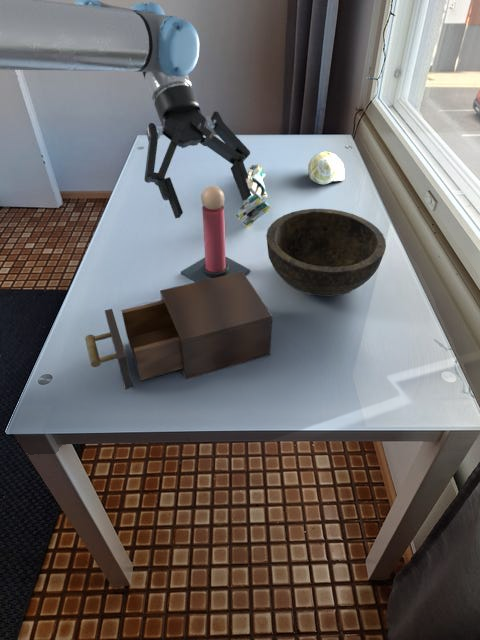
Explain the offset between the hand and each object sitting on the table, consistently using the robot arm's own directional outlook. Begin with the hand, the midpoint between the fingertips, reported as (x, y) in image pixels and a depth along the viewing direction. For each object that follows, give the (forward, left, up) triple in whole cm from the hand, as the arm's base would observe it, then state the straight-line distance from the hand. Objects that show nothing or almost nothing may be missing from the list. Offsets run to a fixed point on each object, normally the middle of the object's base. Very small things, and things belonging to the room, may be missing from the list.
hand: (214, 206), depth 85 cm
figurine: (-16, +28, -15) cm, 36 cm away
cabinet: (+13, -14, -15) cm, 24 cm away
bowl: (+16, +12, -15) cm, 26 cm away
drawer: (+8, -24, -14) cm, 29 cm away
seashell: (-9, +50, -15) cm, 53 cm away
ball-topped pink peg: (-1, 0, -15) cm, 15 cm away
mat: (-1, 0, -15) cm, 15 cm away
